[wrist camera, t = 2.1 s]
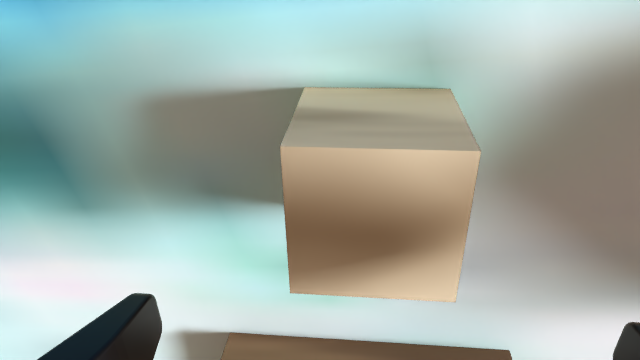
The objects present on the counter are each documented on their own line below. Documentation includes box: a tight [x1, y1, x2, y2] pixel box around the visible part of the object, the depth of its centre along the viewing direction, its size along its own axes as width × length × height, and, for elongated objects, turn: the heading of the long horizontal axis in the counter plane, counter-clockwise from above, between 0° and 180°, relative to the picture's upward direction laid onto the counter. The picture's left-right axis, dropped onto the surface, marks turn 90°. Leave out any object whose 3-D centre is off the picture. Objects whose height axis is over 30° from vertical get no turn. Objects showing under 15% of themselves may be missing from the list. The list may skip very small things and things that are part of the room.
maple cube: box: [280, 87, 481, 302], centre depth 13 cm, size 4×4×4 cm
